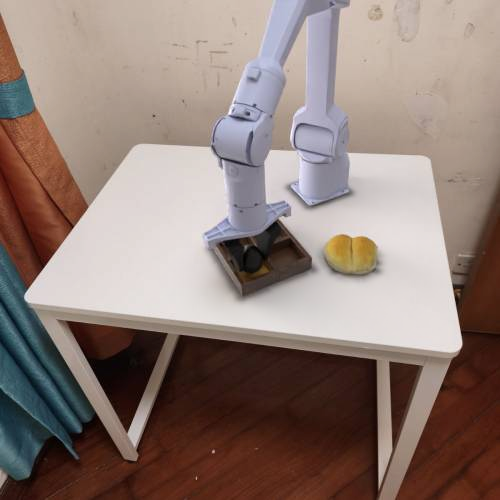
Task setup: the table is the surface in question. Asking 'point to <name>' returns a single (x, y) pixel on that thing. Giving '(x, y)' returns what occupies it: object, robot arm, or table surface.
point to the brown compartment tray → (268, 262)
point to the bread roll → (351, 254)
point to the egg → (252, 259)
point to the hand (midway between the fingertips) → (251, 262)
